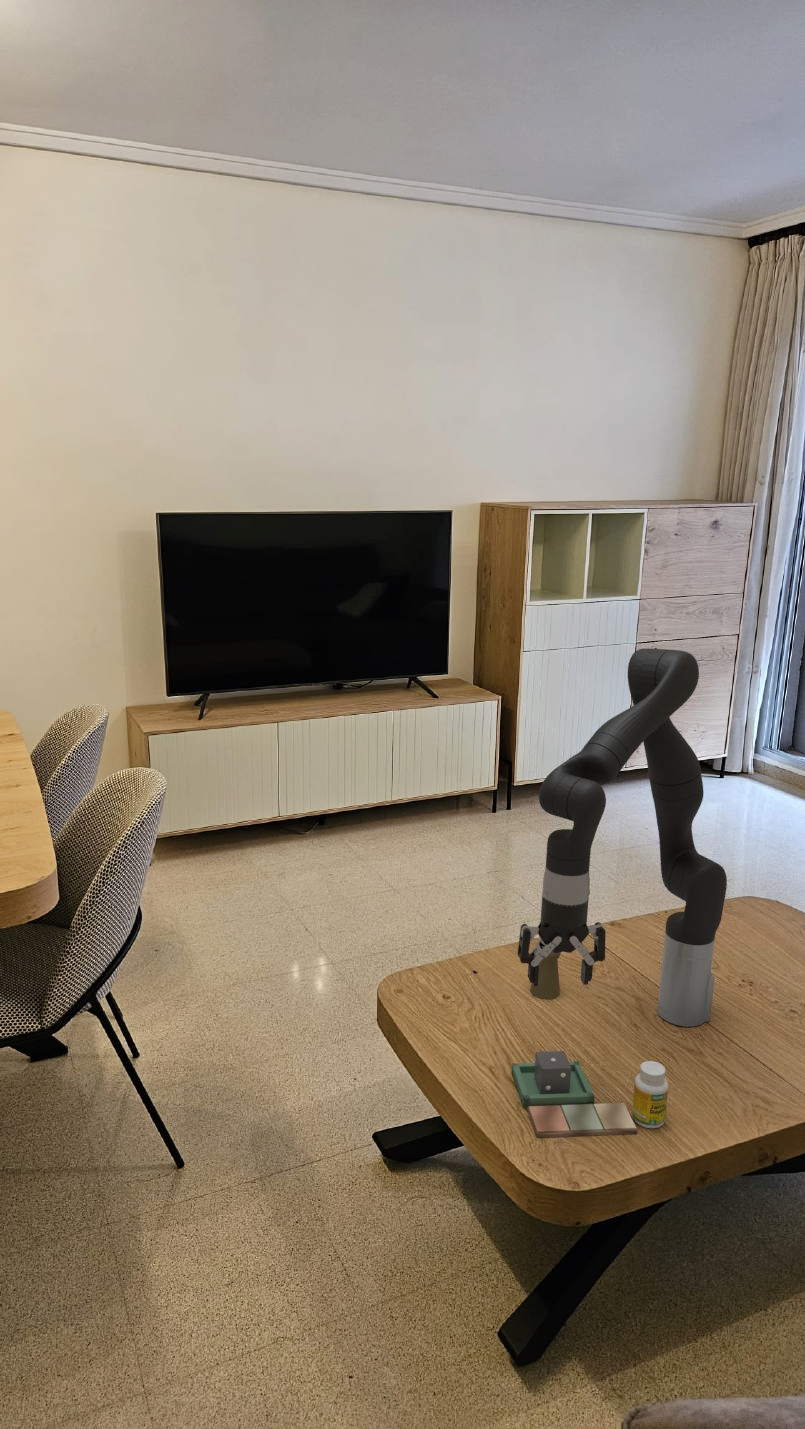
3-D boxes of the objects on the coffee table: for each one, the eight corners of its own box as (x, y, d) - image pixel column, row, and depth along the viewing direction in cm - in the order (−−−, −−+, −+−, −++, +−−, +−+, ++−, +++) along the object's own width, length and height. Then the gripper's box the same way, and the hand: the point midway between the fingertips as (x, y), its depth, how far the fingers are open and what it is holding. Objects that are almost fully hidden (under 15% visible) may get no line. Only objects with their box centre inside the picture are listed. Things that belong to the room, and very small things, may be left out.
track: (623, 1106, 165) (624, 1101, 165) (637, 1133, 159) (637, 1128, 158) (527, 1109, 164) (527, 1105, 163) (536, 1137, 157) (537, 1132, 157)
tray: (577, 1070, 175) (578, 1061, 174) (593, 1105, 165) (594, 1096, 165) (511, 1072, 174) (512, 1063, 173) (523, 1108, 164) (524, 1098, 164)
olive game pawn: (526, 995, 199) (529, 946, 197) (534, 981, 205) (537, 933, 202) (556, 1002, 197) (559, 952, 195) (563, 988, 203) (566, 939, 200)
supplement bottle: (647, 1104, 166) (652, 1054, 163) (671, 1122, 161) (677, 1070, 159) (624, 1115, 163) (629, 1064, 161) (648, 1133, 159) (654, 1081, 156)
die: (563, 1076, 172) (565, 1049, 171) (571, 1094, 167) (573, 1067, 166) (534, 1077, 172) (535, 1050, 170) (540, 1095, 166) (542, 1068, 165)
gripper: (601, 883, 165) (594, 971, 169) (517, 884, 164) (512, 973, 168) (614, 902, 158) (607, 993, 162) (527, 904, 156) (522, 996, 160)
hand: (559, 983), depth 165 cm, fingers open, 8 cm apart
